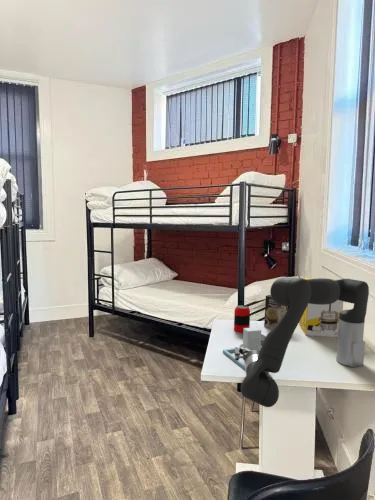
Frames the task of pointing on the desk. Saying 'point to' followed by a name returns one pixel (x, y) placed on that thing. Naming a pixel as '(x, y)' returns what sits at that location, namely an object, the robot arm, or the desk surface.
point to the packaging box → (321, 319)
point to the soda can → (241, 318)
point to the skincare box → (252, 338)
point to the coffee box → (273, 312)
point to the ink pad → (262, 338)
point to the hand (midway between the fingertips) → (253, 347)
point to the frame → (228, 351)
